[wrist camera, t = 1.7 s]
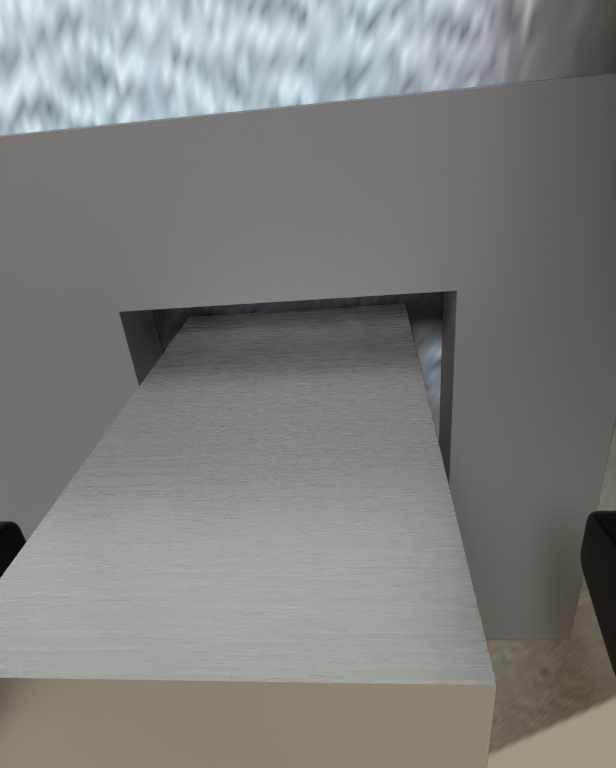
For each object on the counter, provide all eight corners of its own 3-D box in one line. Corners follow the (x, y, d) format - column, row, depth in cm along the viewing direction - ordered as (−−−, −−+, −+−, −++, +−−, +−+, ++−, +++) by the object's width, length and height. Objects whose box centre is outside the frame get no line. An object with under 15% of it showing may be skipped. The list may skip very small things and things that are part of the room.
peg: (405, 303, 11) (496, 685, 4) (405, 480, 13) (468, 932, 6) (189, 316, 11) (-71, 676, 4) (224, 484, 14) (85, 907, 7)
